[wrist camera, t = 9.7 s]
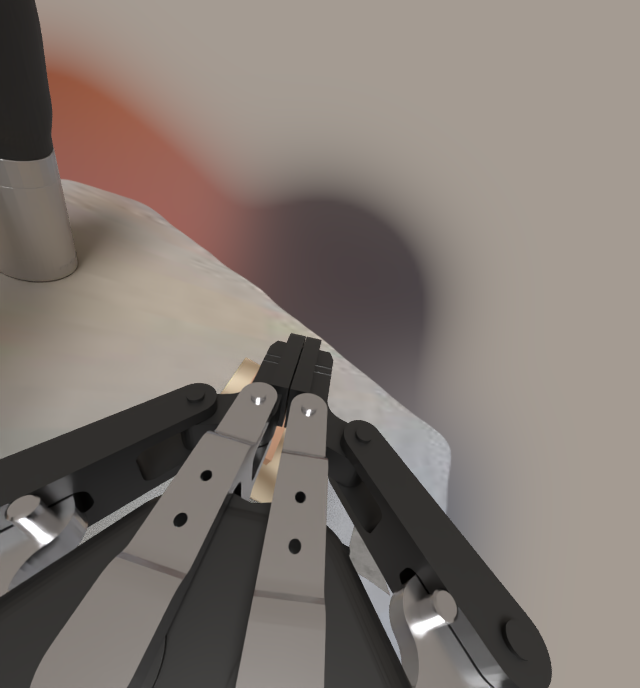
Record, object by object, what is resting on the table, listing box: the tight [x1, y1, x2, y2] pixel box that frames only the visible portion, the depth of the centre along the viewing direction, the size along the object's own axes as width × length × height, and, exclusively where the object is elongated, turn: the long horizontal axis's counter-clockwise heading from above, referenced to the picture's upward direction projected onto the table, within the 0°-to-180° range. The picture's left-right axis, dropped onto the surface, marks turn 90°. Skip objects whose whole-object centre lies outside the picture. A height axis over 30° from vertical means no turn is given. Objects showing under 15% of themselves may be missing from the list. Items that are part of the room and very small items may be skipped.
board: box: [221, 358, 286, 503], centre depth 41 cm, size 19×14×1 cm
